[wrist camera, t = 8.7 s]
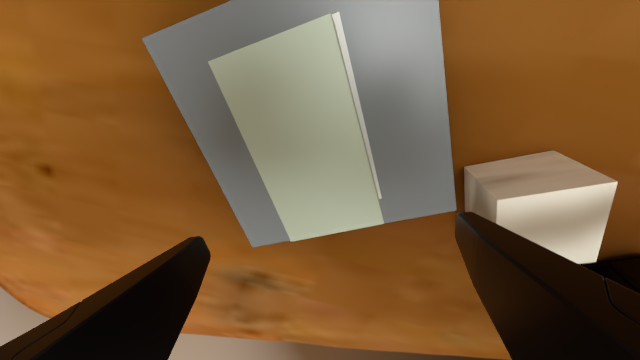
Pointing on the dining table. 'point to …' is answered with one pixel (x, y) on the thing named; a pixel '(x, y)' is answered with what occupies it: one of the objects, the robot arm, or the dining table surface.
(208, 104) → the baseplate
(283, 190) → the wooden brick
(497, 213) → the cream cube
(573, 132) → the dining table surface
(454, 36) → the dining table surface
